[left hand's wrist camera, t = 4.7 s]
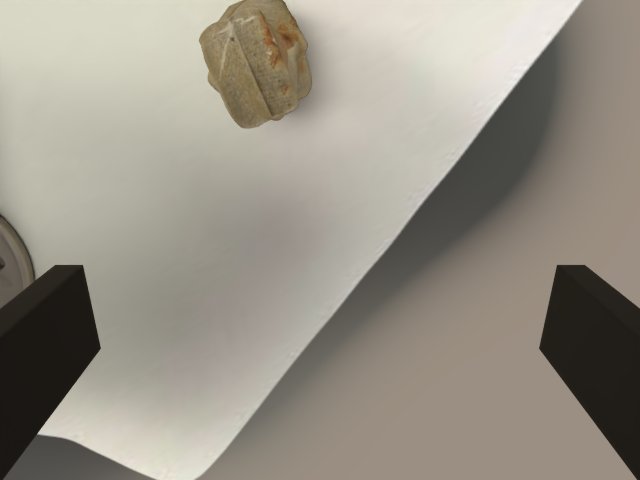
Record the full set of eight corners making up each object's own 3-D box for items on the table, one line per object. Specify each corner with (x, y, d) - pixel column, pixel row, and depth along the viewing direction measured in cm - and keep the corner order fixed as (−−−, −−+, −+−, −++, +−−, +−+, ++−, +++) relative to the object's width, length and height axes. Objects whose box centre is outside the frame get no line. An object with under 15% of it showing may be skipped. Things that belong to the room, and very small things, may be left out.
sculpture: (252, 113, 36) (209, 149, 22) (218, 16, 33) (146, -13, 20) (323, 90, 35) (324, 113, 22) (294, -10, 33) (275, -58, 19)
